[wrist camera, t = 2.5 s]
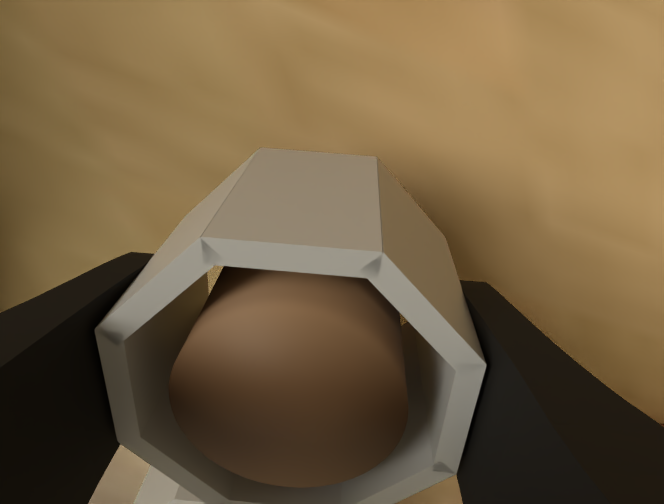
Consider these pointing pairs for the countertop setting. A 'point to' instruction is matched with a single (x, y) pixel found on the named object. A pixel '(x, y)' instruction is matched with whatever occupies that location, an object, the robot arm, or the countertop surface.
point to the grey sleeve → (305, 257)
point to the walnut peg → (292, 377)
